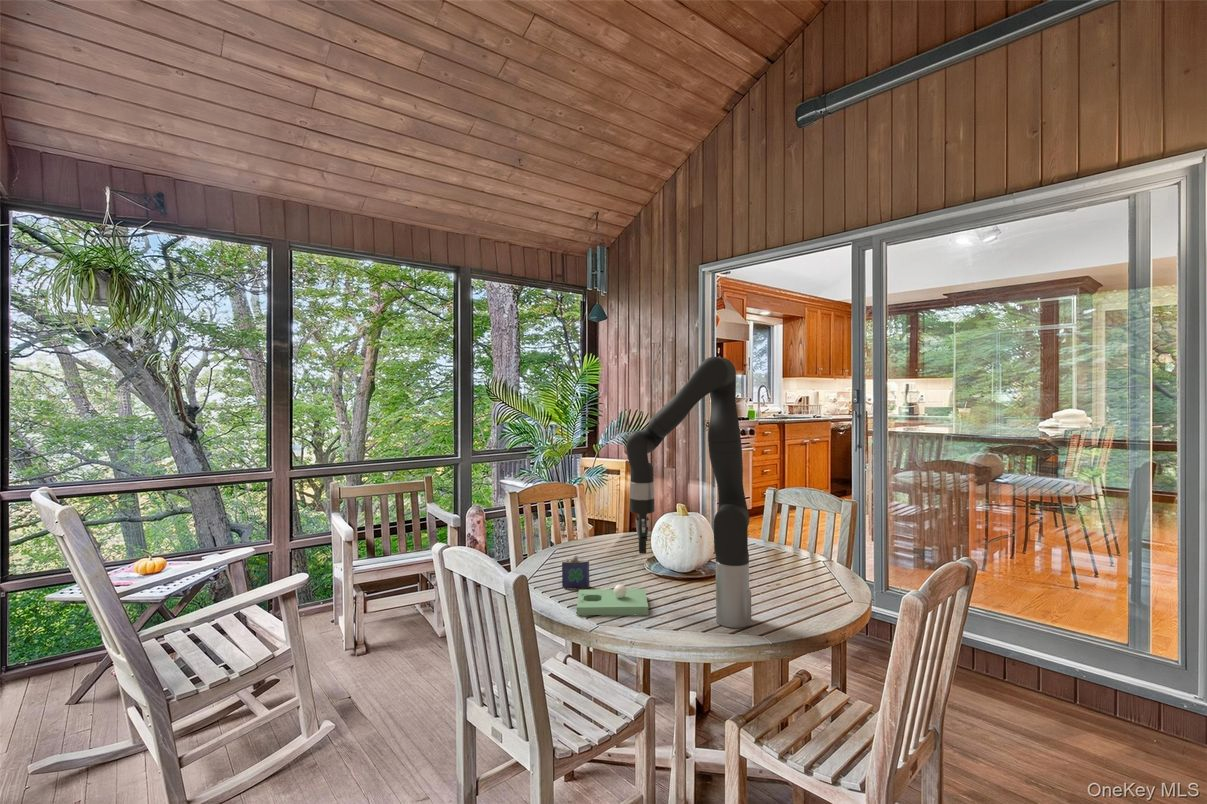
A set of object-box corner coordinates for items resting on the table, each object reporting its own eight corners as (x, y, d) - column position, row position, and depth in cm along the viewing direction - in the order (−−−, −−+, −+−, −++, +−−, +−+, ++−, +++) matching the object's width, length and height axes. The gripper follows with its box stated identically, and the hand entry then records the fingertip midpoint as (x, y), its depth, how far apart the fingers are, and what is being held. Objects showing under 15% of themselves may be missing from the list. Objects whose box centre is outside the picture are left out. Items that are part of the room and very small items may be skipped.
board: (644, 596, 180) (644, 588, 180) (648, 615, 165) (648, 606, 165) (579, 597, 180) (578, 589, 180) (576, 615, 165) (576, 607, 165)
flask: (589, 585, 191) (588, 554, 191) (589, 588, 189) (589, 556, 188) (562, 586, 191) (561, 555, 190) (562, 589, 188) (561, 557, 188)
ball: (626, 595, 175) (626, 582, 174) (627, 600, 171) (626, 586, 170) (613, 595, 175) (613, 582, 175) (613, 600, 171) (613, 587, 171)
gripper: (656, 500, 165) (656, 559, 166) (652, 492, 179) (652, 546, 179) (630, 500, 165) (631, 559, 166) (628, 492, 179) (629, 547, 179)
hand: (642, 552), depth 172 cm, fingers closed
